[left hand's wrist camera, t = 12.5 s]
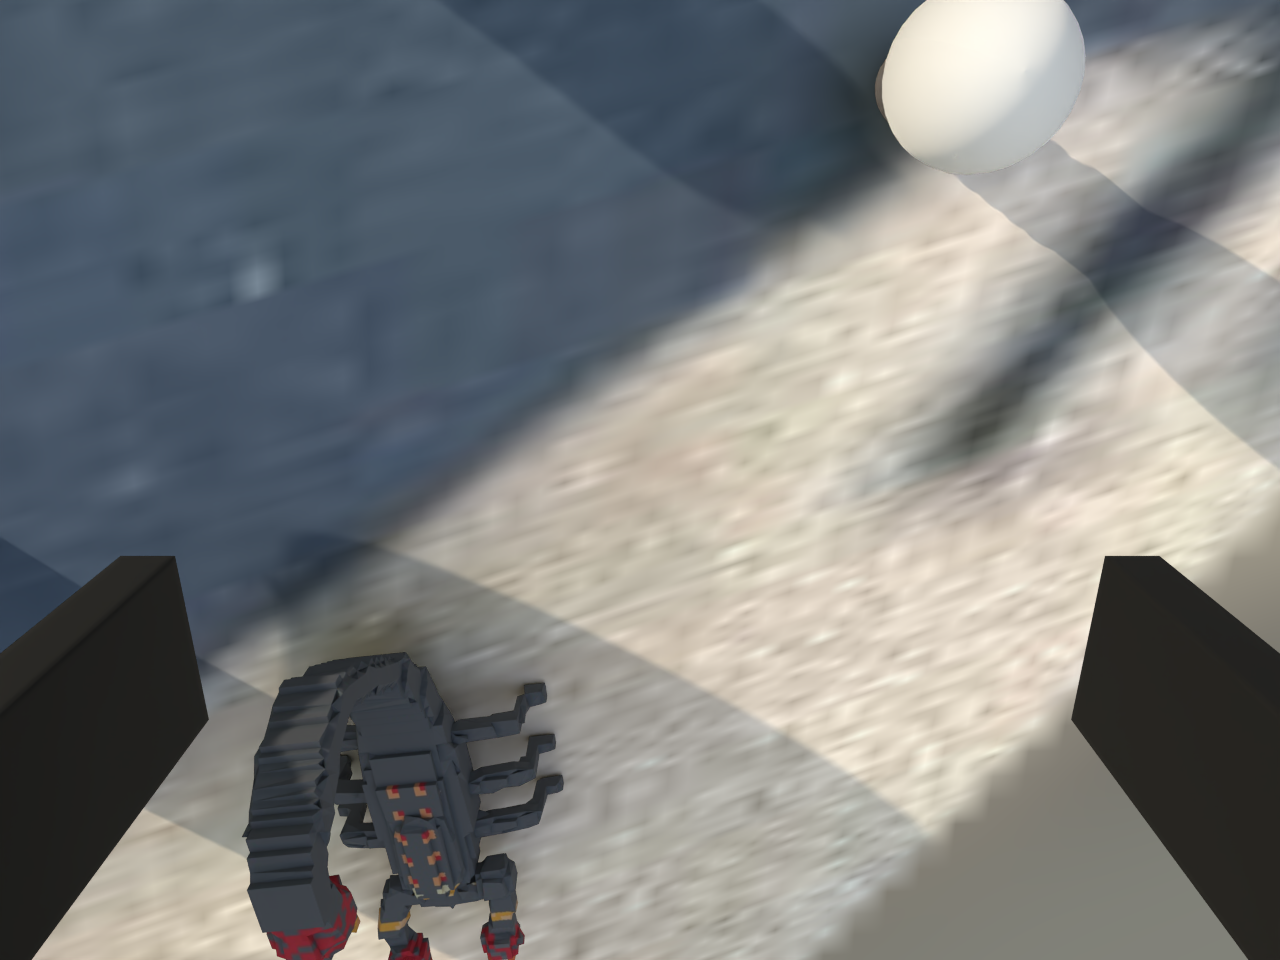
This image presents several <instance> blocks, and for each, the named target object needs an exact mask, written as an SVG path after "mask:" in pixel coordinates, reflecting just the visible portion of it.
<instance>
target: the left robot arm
mask: <svg viewBox="0 0 1280 960" xmlns="http://www.w3.org/2000/svg"><path fill="white" fill-rule="evenodd" d="M208 720H209V719H208V714H207V709H206V704H205V699H204V694H203V690H202V685H201V680H200V675H199V670H198V665H197V661H196V656H195V651H194V646H193V641H192V636H191V632H190V627H189V622H188V617H187V612H186V607H185V603H184V598H183V593H182V588H181V583H180V578H179V574H178V569H177V564H176V559H175V556H120V557H119V558H118V559H116V560H115V561H114V562H113V563H111V564H110V565H109V566H108V567H106V568H105V569H104V570H103V571H102V572H100V573H99V574H98V575H97V576H95V577H94V578H93V579H92V580H90V581H89V582H88V583H87V584H85V585H84V586H83V587H82V588H81V589H79V590H78V591H77V592H76V593H74V594H73V595H72V596H71V597H69V598H68V599H67V600H66V601H65V602H63V603H62V604H61V605H60V606H58V607H57V608H56V609H55V610H53V611H52V612H51V613H50V614H48V615H47V616H46V617H45V618H44V619H42V620H41V621H40V622H39V623H37V624H36V625H35V626H34V627H32V628H31V629H30V630H29V631H28V632H26V633H25V634H24V635H23V636H21V637H20V638H19V639H18V640H16V641H15V642H14V643H13V644H11V645H10V646H9V647H8V648H7V649H5V650H4V651H3V652H2V653H0V960H32V958H33V957H34V956H35V954H36V953H37V952H38V950H39V949H40V948H41V946H42V945H43V944H44V942H45V941H46V939H47V938H48V937H49V935H50V934H51V933H52V931H53V930H54V929H55V927H56V926H57V925H58V923H59V922H60V921H61V919H62V918H63V916H64V915H65V914H66V912H67V911H68V910H69V908H70V907H71V906H72V904H73V903H74V902H75V900H76V899H77V897H78V896H79V895H80V893H81V892H82V891H83V889H84V888H85V887H86V885H87V884H88V883H89V881H90V880H91V878H92V877H93V876H94V874H95V873H96V872H97V870H98V869H99V868H100V866H101V865H102V864H103V862H104V861H105V860H106V858H107V857H108V855H109V854H110V853H111V851H112V850H113V849H114V847H115V846H116V845H117V843H118V842H119V841H120V839H121V838H122V836H123V835H124V834H125V832H126V831H127V830H128V828H129V827H130V826H131V824H132V823H133V822H134V820H135V819H136V817H137V816H138V815H139V813H140V812H141V811H142V809H143V808H144V807H145V805H146V804H147V803H148V801H149V800H150V798H151V797H152V796H153V794H154V793H155V792H156V790H157V789H158V788H159V786H160V785H161V784H162V782H163V781H164V780H165V778H166V777H167V775H168V774H169V773H170V771H171V770H172V769H173V767H174V766H175V765H176V763H177V762H178V761H179V759H180V758H181V756H182V755H183V754H184V752H185V751H186V750H187V748H188V747H189V746H190V744H191V743H192V742H193V740H194V739H195V737H196V736H197V735H198V733H199V732H200V731H201V729H202V728H203V727H204V725H205V724H206V723H207V721H208ZM1071 720H1072V721H1073V723H1074V724H1075V725H1076V727H1077V728H1078V729H1079V731H1080V732H1081V733H1082V735H1083V736H1084V737H1085V739H1086V740H1087V742H1088V743H1089V744H1090V746H1091V747H1092V748H1093V750H1094V751H1095V752H1096V754H1097V755H1098V756H1099V758H1100V759H1101V761H1102V762H1103V763H1104V765H1105V766H1106V767H1107V769H1108V770H1109V771H1110V773H1111V774H1112V775H1113V777H1114V778H1115V780H1116V781H1117V782H1118V784H1119V785H1120V786H1121V788H1122V789H1123V790H1124V792H1125V793H1126V794H1127V796H1128V797H1129V799H1130V800H1131V801H1132V803H1133V804H1134V805H1135V807H1136V808H1137V809H1138V811H1139V812H1140V813H1141V815H1142V816H1143V817H1144V819H1145V820H1146V822H1147V823H1148V824H1149V826H1150V827H1151V828H1152V830H1153V831H1154V832H1155V834H1156V835H1157V836H1158V838H1159V839H1160V840H1161V842H1162V843H1163V845H1164V846H1165V847H1166V849H1167V850H1168V851H1169V853H1170V854H1171V855H1172V857H1173V858H1174V860H1175V861H1176V862H1177V864H1178V865H1179V866H1180V868H1181V869H1182V870H1183V872H1184V873H1185V874H1186V876H1187V877H1188V878H1189V880H1190V881H1191V883H1192V884H1193V885H1194V887H1195V888H1196V889H1197V891H1198V892H1199V893H1200V895H1201V896H1202V897H1203V899H1204V900H1205V902H1206V903H1207V904H1208V906H1209V907H1210V908H1211V910H1212V911H1213V912H1214V914H1215V915H1216V916H1217V918H1218V919H1219V921H1220V922H1221V923H1222V925H1223V926H1224V927H1225V929H1226V930H1227V931H1228V933H1229V934H1230V935H1231V937H1232V938H1233V939H1234V941H1235V942H1236V944H1237V945H1238V946H1239V948H1240V949H1241V950H1242V952H1243V953H1244V954H1245V956H1246V957H1247V958H1248V960H1280V653H1278V652H1277V651H1276V650H1275V649H1273V648H1272V647H1271V646H1270V645H1269V644H1267V643H1266V642H1265V641H1264V640H1262V639H1261V638H1260V637H1259V636H1257V635H1256V634H1255V633H1254V632H1252V631H1251V630H1250V629H1249V628H1248V627H1246V626H1245V625H1244V624H1243V623H1241V622H1240V621H1239V620H1238V619H1236V618H1235V617H1234V616H1233V615H1232V614H1230V613H1229V612H1228V611H1227V610H1225V609H1224V608H1223V607H1222V606H1220V605H1219V604H1218V603H1217V602H1215V601H1214V600H1213V599H1212V598H1211V597H1209V596H1208V595H1207V594H1206V593H1204V592H1203V591H1202V590H1201V589H1199V588H1198V587H1197V586H1196V585H1195V584H1193V583H1192V582H1191V581H1190V580H1188V579H1187V578H1186V577H1185V576H1183V575H1182V574H1181V573H1180V572H1178V571H1177V570H1176V569H1175V568H1174V567H1172V566H1171V565H1170V564H1169V563H1167V562H1166V561H1165V560H1164V559H1162V558H1161V557H1160V556H1105V559H1104V564H1103V569H1102V574H1101V578H1100V583H1099V588H1098V593H1097V598H1096V603H1095V607H1094V612H1093V617H1092V622H1091V627H1090V632H1089V636H1088V641H1087V646H1086V651H1085V656H1084V661H1083V665H1082V670H1081V675H1080V680H1079V685H1078V690H1077V694H1076V699H1075V704H1074V709H1073V714H1072V719H1071Z"/></svg>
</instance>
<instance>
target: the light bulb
mask: <svg viewBox="0 0 1280 960" xmlns="http://www.w3.org/2000/svg"><path fill="white" fill-rule="evenodd" d="M1084 70H1085V48H1084V39H1083V36H1082V33H1081V30H1080V27H1079V24H1078V22H1077V20H1076V18H1075V16H1074V15H1073V13H1072V11H1071V9H1070V8H1069V6H1068V5H1067V3H1066V2H1065V1H1064V0H926V1H925V2H924V3H923V4H922V5H921V6H919V7H918V8H917V9H916V10H915V11H914V12H913V13H912V14H911V16H910V17H909V18H908V19H907V20H906V22H905V23H904V24H903V25H902V27H901V29H900V30H899V32H898V34H897V36H896V37H895V39H894V41H893V43H892V45H891V48H890V51H889V54H888V56H887V59H886V60H885V61H884V63H883V64H882V66H881V68H880V70H879V72H878V75H877V78H876V83H875V96H876V101H877V105H878V107H879V109H880V111H881V113H882V115H883V117H884V118H885V119H886V120H887V121H888V123H889V125H890V127H891V130H892V132H893V134H894V135H895V137H896V138H897V140H898V141H899V143H900V144H901V146H902V147H903V148H904V149H905V150H906V151H908V152H909V153H910V154H911V155H912V156H913V157H914V158H916V159H917V160H919V161H921V162H922V163H924V164H926V165H927V166H930V167H932V168H935V169H938V170H941V171H944V172H947V173H952V174H962V175H971V174H980V173H989V172H994V171H997V170H1000V169H1004V168H1007V167H1010V166H1012V165H1013V164H1015V163H1017V162H1019V161H1021V160H1023V159H1025V158H1027V157H1028V156H1030V155H1031V154H1033V153H1034V152H1036V151H1037V150H1038V149H1039V148H1041V147H1042V146H1043V145H1045V144H1046V143H1047V142H1048V141H1049V140H1050V139H1051V138H1052V137H1053V136H1054V134H1055V133H1056V132H1057V131H1058V130H1059V129H1060V128H1061V126H1062V125H1063V123H1064V122H1065V120H1066V119H1067V117H1068V116H1069V114H1070V112H1071V110H1072V108H1073V106H1074V104H1075V101H1076V99H1077V97H1078V95H1079V92H1080V89H1081V85H1082V81H1083V77H1084Z"/></svg>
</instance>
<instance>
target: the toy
mask: <svg viewBox="0 0 1280 960" xmlns="http://www.w3.org/2000/svg"><path fill="white" fill-rule="evenodd" d="M524 690H525V694H523V695H520V696H518V697H517V700H516V704H515V708H514V711H508V712H502V713H497V714H492V715H491V716H487V717H478V718H469V719H460V720H458V721H456V722H455V721H454V719H453V717H452V715H451V713H450V711H449V709H448V708H447V706H446V704H445V703H444V701H443V700H442V698H441V697H440V696H439V694H438V692H437V689H436V687H435V684H434V682H433V680H432V678H431V676H430V674H429V672H428V670H427V668H426V667H417V666H416V664H414V663H412V661H411V659H410V658H409V657H408V655H407V654H406V652H403V653H393V654H383V655H373V656H364V657H354V658H346V659H338V660H333V661H328V662H327V663H321V664H319V665H315V666H309V668H308V669H307V671H306V672H305V674H304V675H303V677H294V678H291V679H288V680H284V681H283V682H282V684H281V686H280V687H279V693H278V695H277V698H276V700H275V702H274V704H273V707H272V711H271V715H270V719H269V723H268V726H267V730H266V734H265V737H264V740H263V741H262V743H261V745H260V746H259V749H258V751H257V753H256V754H255V756H254V783H253V789H252V796H251V803H250V810H249V824H248V826H247V828H246V830H245V832H244V834H243V836H242V837H247V839H246V843H247V845H248V848H249V851H250V854H249V856H248V858H247V862H248V866H249V870H250V885H249V887H248V889H247V892H248V894H249V897H250V900H251V902H252V905H253V908H254V911H255V913H256V916H257V919H258V922H259V924H260V927H261V930H262V933H264V932H267V936H268V939H269V942H270V944H271V947H272V949H276V952H277V956H278V957H281V958H284V959H286V960H332V958H333V955H334V954H335V953H337V952H339V951H341V950H342V949H344V947H345V945H346V942H347V940H348V938H349V936H350V934H351V933H352V932H355V933H356V932H357V929H358V926H359V924H360V920H359V917H358V915H357V906H356V904H355V902H354V899H353V897H352V894H351V892H350V891H349V889H348V888H347V887H346V886H343V885H342V883H341V879H340V876H339V875H333V876H329V873H328V868H327V866H328V851H327V845H328V843H329V840H330V831H331V827H332V823H333V819H334V815H335V810H334V803H335V804H336V805H339V806H338V811H339V815H340V816H347V817H348V818H347V820H346V822H345V825H344V827H343V829H342V832H341V834H340V837H341V840H342V842H343V844H344V845H346V846H347V847H353V848H386V851H387V855H388V858H389V862H390V865H391V869H392V872H393V874H397V873H398V874H399V875H390V879H387V880H386V883H385V886H384V890H383V899H381V908H379V920H378V938H379V939H385V940H386V942H387V943H388V944H389V946H390V948H391V950H390V954H389V958H388V960H432V957H431V953H430V947H429V940H428V938H423V933H416V932H415V931H414V930H412V929H411V928H410V927H409V926H408V921H409V918H410V916H411V915H410V908H411V906H412V905H417V904H420V905H421V907H429V906H435V907H446V906H451V907H452V908H454V906H455V905H456V904H461V903H467V902H473V901H478V900H481V899H484V901H487V900H489V906H490V912H491V913H490V916H489V922H487V923H486V924H484V925H483V926H482V931H481V937H480V939H481V943H482V947H483V951H484V953H487V955H488V960H504V959H508V960H515V956H516V955H517V954H518V947H519V945H521V944H524V937H525V935H524V934H523V932H522V931H521V929H520V924H519V923H518V922H517V919H516V914H515V912H516V909H517V904H518V901H517V896H516V891H515V889H516V881H517V870H516V866H515V862H514V861H512V860H510V859H509V858H508V857H507V855H506V853H505V854H504V853H503V854H497V855H491V856H487V857H486V858H485V860H484V861H482V862H479V863H478V859H479V854H480V848H479V843H480V839H481V837H485V836H490V835H496V834H502V833H507V832H511V831H516V830H520V829H525V828H529V827H532V826H534V825H537V824H539V822H540V819H541V815H542V812H543V809H544V805H545V802H546V799H547V795H548V794H553V793H558V792H560V791H561V790H563V785H564V782H563V777H562V775H559V776H553V777H546V778H542V779H540V780H538V781H537V784H536V788H535V791H534V795H533V798H532V799H531V800H530V801H529V802H527V803H526V804H522V805H517V806H512V807H506V808H501V809H492V810H488V811H482V810H479V807H480V803H481V801H480V797H479V794H487V793H494V792H496V791H498V790H500V789H502V788H505V787H513V786H520V785H522V784H524V783H526V782H528V781H530V780H532V779H534V778H536V772H537V766H538V760H539V754H540V753H544V752H548V751H551V750H554V749H555V746H556V740H555V735H554V734H551V735H542V736H532V737H529V742H528V748H527V753H526V756H524V757H521V758H520V761H519V762H508V763H503V764H497V765H492V766H487V767H481V768H479V769H477V770H475V771H473V767H472V763H471V759H470V756H469V752H468V749H467V745H466V742H471V741H478V740H484V739H491V738H498V737H503V736H509V735H514V734H519V733H520V730H521V726H522V723H525V714H526V712H527V711H528V709H529V708H530V707H531V706H535V705H539V704H542V703H545V702H546V700H547V692H546V687H545V683H540V684H530V685H524ZM349 716H350V718H351V719H352V721H353V722H354V723H355V725H347V723H348V719H349ZM356 749H358V753H359V760H360V765H361V770H362V776H363V780H350V779H351V776H352V771H351V761H350V759H349V758H348V756H340V752H342V751H349V750H356ZM366 804H368V808H369V811H370V815H371V818H372V822H373V823H363V819H364V816H365V812H366V808H367V806H366Z"/></svg>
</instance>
